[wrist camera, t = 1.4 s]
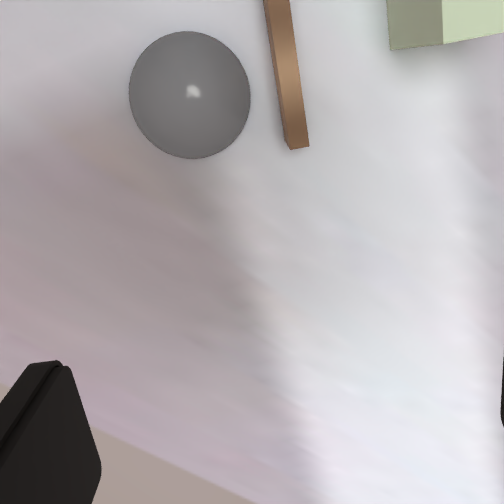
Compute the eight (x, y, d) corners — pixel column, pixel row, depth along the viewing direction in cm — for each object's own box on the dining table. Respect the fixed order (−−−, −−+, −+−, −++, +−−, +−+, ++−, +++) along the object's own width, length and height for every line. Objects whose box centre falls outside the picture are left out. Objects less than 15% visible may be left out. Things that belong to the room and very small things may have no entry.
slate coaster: (116, 45, 31) (114, 44, 30) (237, 20, 31) (237, 19, 30) (148, 166, 34) (146, 168, 33) (259, 145, 34) (259, 146, 33)
